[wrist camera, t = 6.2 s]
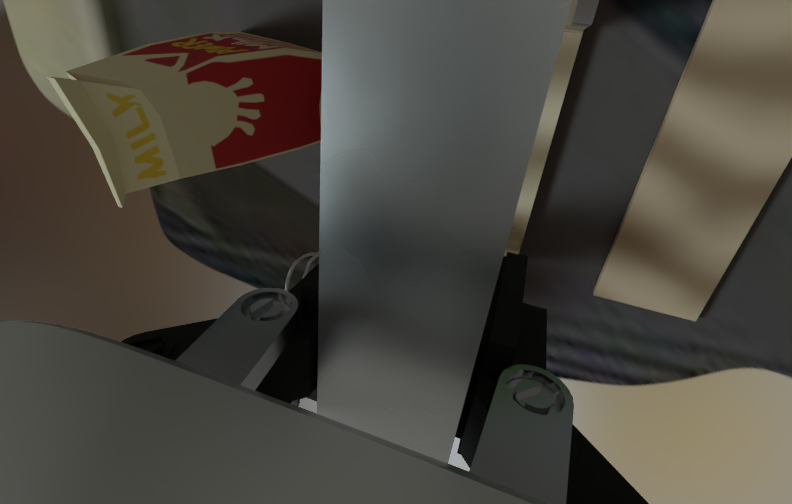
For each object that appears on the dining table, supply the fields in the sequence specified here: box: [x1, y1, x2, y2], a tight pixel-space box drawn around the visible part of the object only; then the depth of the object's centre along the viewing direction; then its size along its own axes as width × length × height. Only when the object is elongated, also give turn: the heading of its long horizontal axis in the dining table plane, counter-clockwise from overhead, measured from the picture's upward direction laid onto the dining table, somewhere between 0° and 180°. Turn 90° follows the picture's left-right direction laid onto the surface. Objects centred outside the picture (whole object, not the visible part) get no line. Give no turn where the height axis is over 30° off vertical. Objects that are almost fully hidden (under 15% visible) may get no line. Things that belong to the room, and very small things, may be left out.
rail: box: [317, 0, 572, 464], centre depth 9 cm, size 24×3×3 cm, turn 173°
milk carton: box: [47, 32, 322, 207], centre depth 29 cm, size 9×9×20 cm
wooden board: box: [593, 0, 792, 321], centre depth 29 cm, size 24×8×1 cm, turn 173°
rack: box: [504, 0, 599, 256], centre depth 27 cm, size 24×6×12 cm, turn 173°
